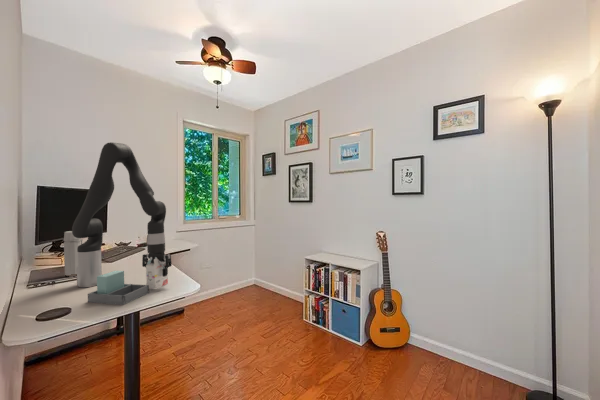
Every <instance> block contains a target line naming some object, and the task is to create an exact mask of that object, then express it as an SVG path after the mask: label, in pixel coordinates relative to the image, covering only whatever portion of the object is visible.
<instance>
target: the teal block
mask: <svg viewBox="0 0 600 400" xmlns="http://www.w3.org/2000/svg"><path fill="white" fill-rule="evenodd" d="M124 284H125V271H124V270H113V271H110V272H107V273H104V274H103V273H102V275H100V276H97V285H96V288H97V289H96V291H97V294H108V293H111V292H113V291H116V290H118V289H121V288H123V287H124Z"/></svg>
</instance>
